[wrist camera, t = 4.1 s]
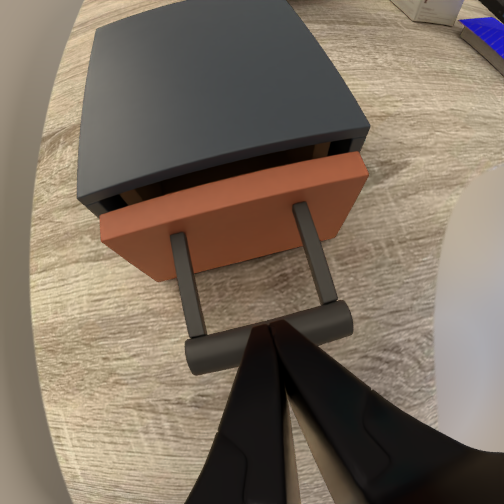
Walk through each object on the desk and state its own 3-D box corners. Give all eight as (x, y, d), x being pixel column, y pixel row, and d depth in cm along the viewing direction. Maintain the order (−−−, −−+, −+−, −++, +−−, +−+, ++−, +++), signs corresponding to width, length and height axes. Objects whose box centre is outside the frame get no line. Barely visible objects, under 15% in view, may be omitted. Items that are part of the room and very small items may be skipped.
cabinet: (333, 215, 20) (371, 126, 12) (148, 262, 20) (76, 199, 11) (274, 75, 24) (274, -15, 16) (134, 109, 24) (95, 28, 15)
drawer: (364, 328, 17) (421, 311, 10) (177, 376, 17) (122, 389, 10) (276, 90, 22) (278, 13, 16) (139, 123, 22) (105, 54, 15)
